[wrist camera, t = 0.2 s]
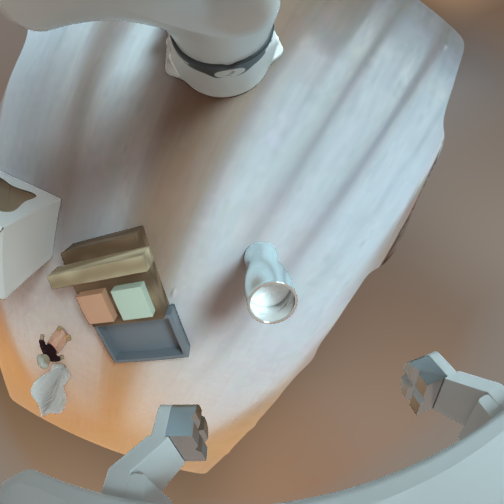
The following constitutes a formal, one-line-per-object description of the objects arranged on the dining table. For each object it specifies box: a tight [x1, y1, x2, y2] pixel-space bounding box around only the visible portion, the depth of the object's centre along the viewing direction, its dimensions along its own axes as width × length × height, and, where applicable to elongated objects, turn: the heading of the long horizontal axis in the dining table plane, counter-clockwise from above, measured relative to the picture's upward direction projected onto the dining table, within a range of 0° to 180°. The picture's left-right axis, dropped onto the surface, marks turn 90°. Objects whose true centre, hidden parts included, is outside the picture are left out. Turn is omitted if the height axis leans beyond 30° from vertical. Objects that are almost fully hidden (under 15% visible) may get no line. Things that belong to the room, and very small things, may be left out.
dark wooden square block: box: [61, 226, 169, 327], centre depth 46 cm, size 16×16×5 cm
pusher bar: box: [47, 246, 154, 289], centre depth 40 cm, size 2×20×4 cm, turn 100°
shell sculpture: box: [31, 364, 70, 417], centre depth 50 cm, size 8×8×18 cm
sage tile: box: [111, 281, 155, 320], centre depth 44 cm, size 6×6×2 cm
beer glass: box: [244, 242, 298, 324], centre depth 42 cm, size 7×7×15 cm
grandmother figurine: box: [37, 326, 71, 369], centre depth 47 cm, size 8×4×13 cm, turn 42°
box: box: [95, 304, 190, 363], centre depth 52 cm, size 11×18×4 cm, turn 100°
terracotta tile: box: [76, 288, 118, 324], centre depth 44 cm, size 6×6×2 cm
